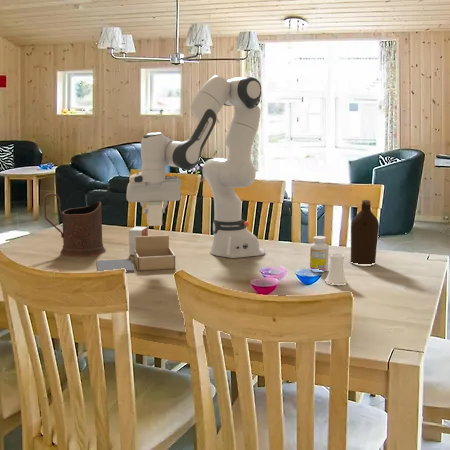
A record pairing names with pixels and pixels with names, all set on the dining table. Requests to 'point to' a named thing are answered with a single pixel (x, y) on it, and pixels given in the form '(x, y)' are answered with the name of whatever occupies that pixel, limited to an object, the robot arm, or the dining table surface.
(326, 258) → the supplement bottle
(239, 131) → the robot arm
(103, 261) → the rubber mat
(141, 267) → the carton
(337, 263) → the salt shaker
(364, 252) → the olive oil
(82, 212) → the brown pitcher
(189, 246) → the dining table surface
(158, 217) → the cream box
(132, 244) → the small box
